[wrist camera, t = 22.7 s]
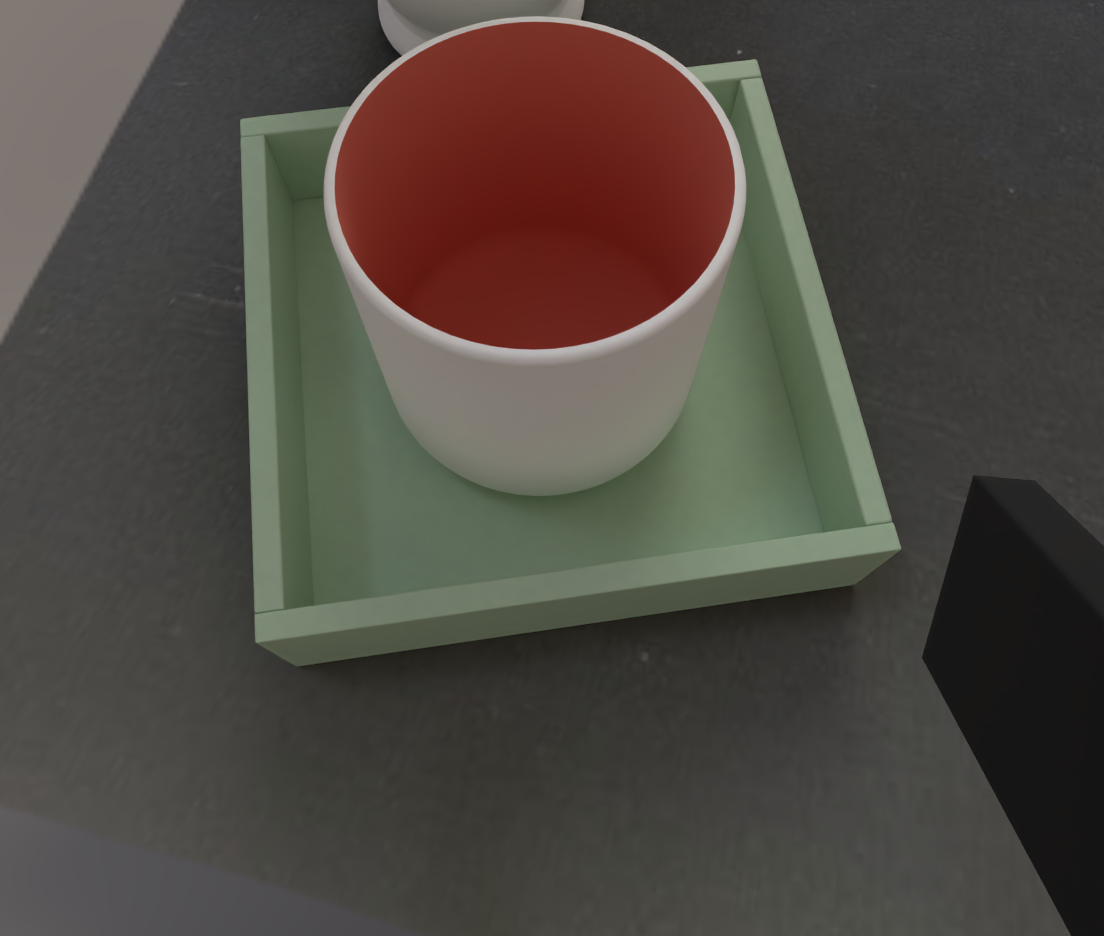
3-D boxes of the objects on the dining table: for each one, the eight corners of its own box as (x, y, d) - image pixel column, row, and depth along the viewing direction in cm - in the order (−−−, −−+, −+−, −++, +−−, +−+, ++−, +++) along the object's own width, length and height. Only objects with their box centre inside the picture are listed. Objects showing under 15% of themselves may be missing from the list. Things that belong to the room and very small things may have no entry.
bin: (274, 196, 34) (239, 117, 30) (734, 141, 35) (757, 58, 31) (295, 667, 28) (254, 643, 24) (855, 585, 29) (902, 549, 25)
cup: (721, 479, 29) (799, 320, 20) (413, 534, 29) (344, 397, 19) (651, 224, 33) (690, -12, 23) (376, 268, 32) (303, 42, 23)
